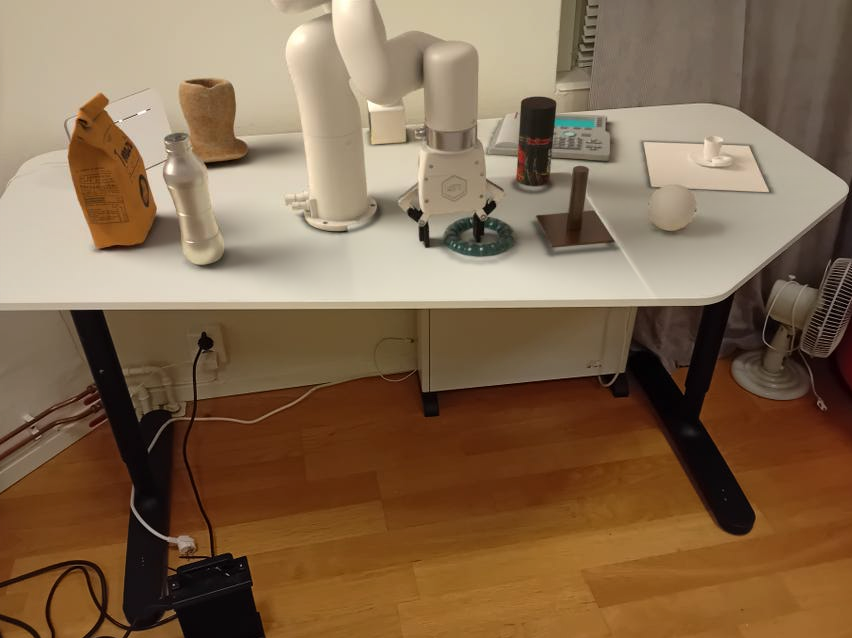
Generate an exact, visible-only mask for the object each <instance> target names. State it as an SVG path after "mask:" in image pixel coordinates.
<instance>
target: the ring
mask: <svg viewBox="0 0 852 638" xmlns="http://www.w3.org/2000/svg"><path fill="white" fill-rule="evenodd" d="M469 229H473V215H472V216H466V217H463V218H459V219H457V220H454V221H453V222H452V223H450V224H448V226H447V227H446V228H445V230H444V232H443V235H442V240H443V243H444V245H445V246H446V247H447V248H449V249H450V250H451V251H452V252H455V253H457V254H460V255H462V256H463V255H464V256H470V257H477V258H481V257H492V256H496V255H499V254H503V253H505V252H507V251H508V250H509V249H511V248H512V247H513V246H514V244H515V241H516V240H517V239H516V233H515V231H514V229H513V227H512V226H511V225H510V224H508V223H507V222H505V221H504V220H502V219H499V218H495V217H493V216H487V219H486V220H485V227H484V229H488V230H492V231H494V232H496V234H498V236H499V238H498V239H497V240H495V241H492V242H489V243H482V244H481V243H470V242H466V241H464V240H462V239H461V238H460V237H459V236H460V234H461V233H463V232H464V231H466V230H469Z"/></svg>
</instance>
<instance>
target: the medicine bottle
mask: <svg viewBox="0 0 852 638" xmlns="http://www.w3.org/2000/svg"><path fill="white" fill-rule="evenodd" d="M366 103H367V105H366V106H367V115H368V118H367V119H368V127H369V128H368V131H369V138H370V142H371V145H382V144H397V143H398V144H399V143H406V142H407V128H406V127H407V124H406V108H405V104H404V102H403V97H402V98H400V99H399V100H397V101H395V102H393V103H391V104H387V105H377V104H374V103H372V102H370V101H368V100H367V99H366Z"/></svg>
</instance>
